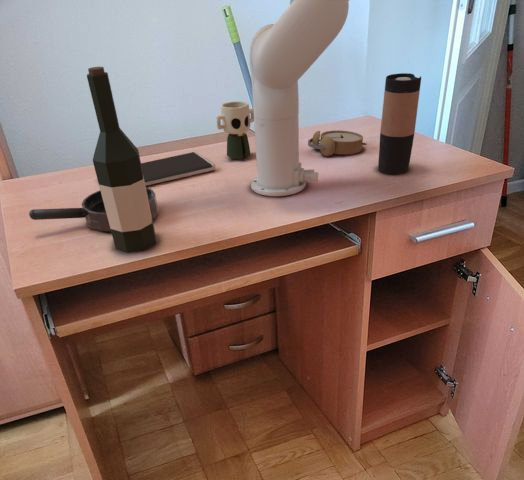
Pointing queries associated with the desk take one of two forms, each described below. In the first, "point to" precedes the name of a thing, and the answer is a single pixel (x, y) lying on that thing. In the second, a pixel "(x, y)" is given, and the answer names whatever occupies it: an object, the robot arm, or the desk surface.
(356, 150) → the alarm clock
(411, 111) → the travel mug
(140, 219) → the wine bottle
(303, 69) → the robot arm
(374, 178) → the desk surface
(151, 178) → the smartphone
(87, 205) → the pan
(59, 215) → the pan handle
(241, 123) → the character mug
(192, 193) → the desk surface
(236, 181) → the desk surface
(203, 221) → the desk surface
